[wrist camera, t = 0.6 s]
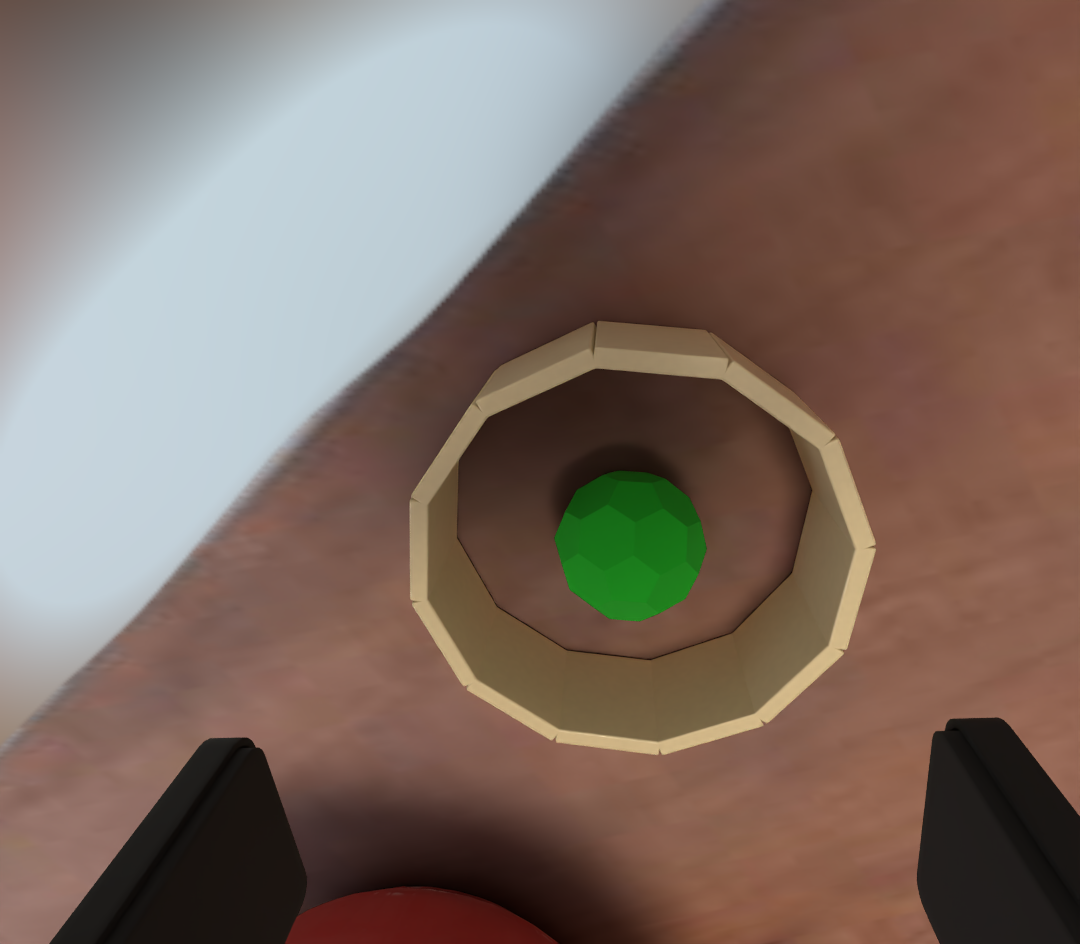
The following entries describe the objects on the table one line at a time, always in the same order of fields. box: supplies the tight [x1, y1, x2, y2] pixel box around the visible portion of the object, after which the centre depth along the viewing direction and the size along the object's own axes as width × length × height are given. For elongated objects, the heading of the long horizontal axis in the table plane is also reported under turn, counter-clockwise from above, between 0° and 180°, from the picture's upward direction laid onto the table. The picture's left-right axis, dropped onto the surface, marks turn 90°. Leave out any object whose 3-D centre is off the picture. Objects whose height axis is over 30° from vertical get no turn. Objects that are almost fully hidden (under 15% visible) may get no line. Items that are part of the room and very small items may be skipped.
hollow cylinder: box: [410, 321, 876, 755], centre depth 22 cm, size 14×14×4 cm
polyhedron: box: [554, 471, 707, 621], centre depth 22 cm, size 5×5×5 cm
